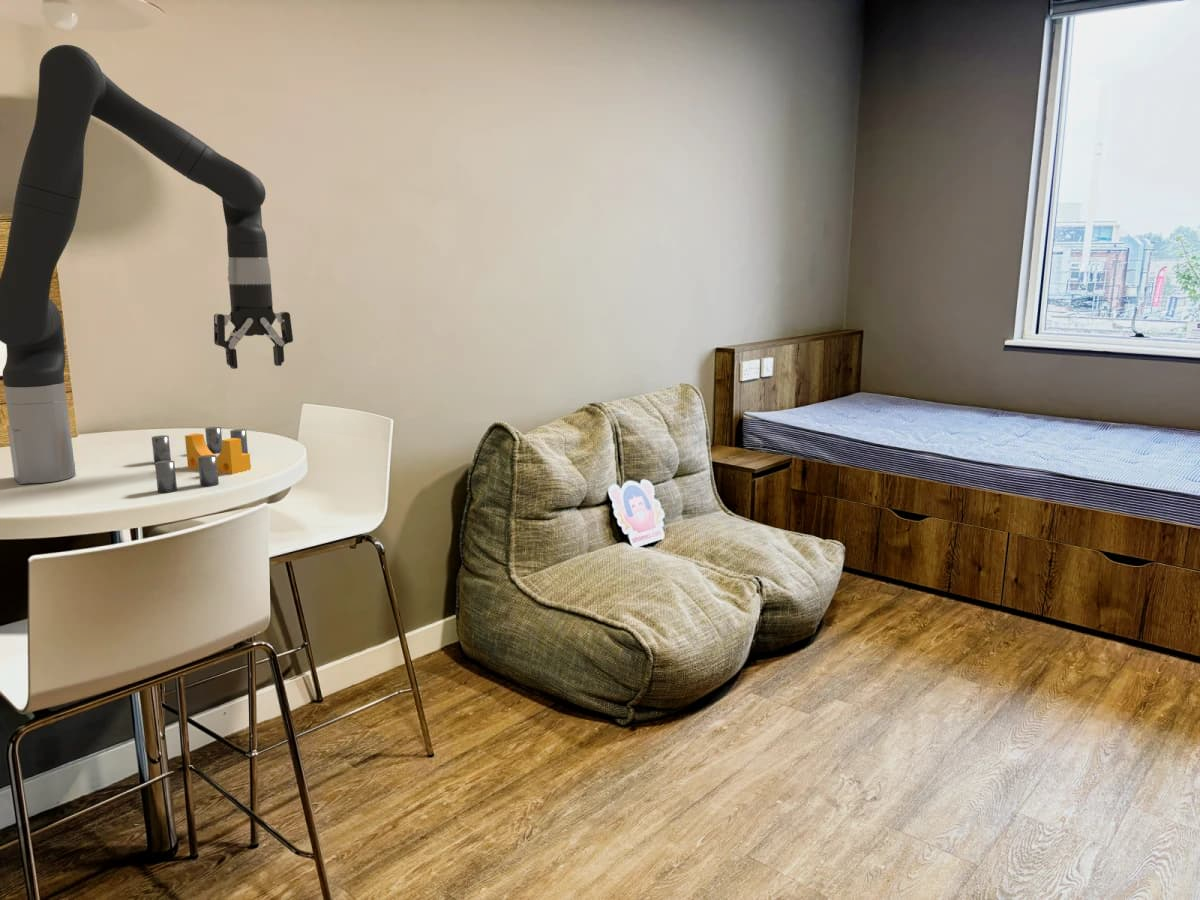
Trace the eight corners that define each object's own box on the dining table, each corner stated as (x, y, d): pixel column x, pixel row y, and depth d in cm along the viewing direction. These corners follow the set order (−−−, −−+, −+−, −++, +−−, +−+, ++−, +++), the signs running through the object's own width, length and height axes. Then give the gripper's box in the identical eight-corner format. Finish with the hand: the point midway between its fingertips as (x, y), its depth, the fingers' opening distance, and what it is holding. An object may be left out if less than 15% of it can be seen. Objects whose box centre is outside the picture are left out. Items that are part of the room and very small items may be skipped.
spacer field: (160, 493, 153) (157, 465, 152) (114, 463, 176) (112, 438, 175) (293, 473, 168) (291, 447, 167) (234, 448, 191) (232, 424, 190)
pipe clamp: (251, 470, 171) (248, 437, 170) (232, 475, 167) (229, 441, 166) (206, 464, 176) (204, 431, 175) (188, 468, 173) (184, 435, 171)
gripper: (217, 282, 165) (225, 371, 168) (294, 282, 174) (299, 366, 177) (205, 282, 170) (212, 367, 173) (279, 281, 179) (285, 362, 182)
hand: (256, 366), depth 175 cm, fingers open, 8 cm apart
